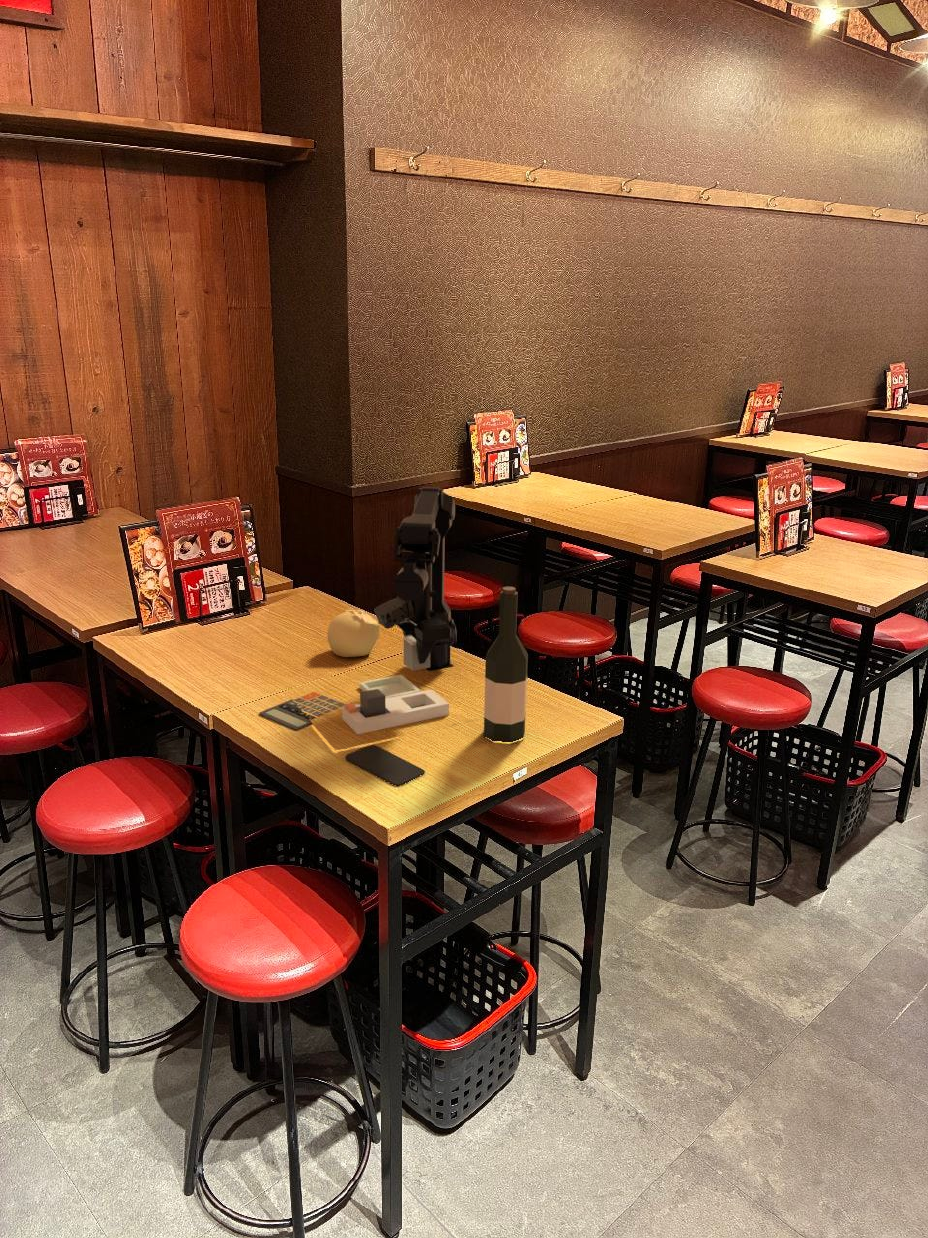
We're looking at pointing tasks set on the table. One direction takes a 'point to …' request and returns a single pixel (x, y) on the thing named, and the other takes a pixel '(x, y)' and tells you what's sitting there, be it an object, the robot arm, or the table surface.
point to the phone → (384, 765)
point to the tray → (390, 686)
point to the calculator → (299, 711)
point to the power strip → (392, 710)
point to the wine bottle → (506, 676)
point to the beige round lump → (353, 633)
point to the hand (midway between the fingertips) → (417, 659)
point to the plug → (413, 655)
